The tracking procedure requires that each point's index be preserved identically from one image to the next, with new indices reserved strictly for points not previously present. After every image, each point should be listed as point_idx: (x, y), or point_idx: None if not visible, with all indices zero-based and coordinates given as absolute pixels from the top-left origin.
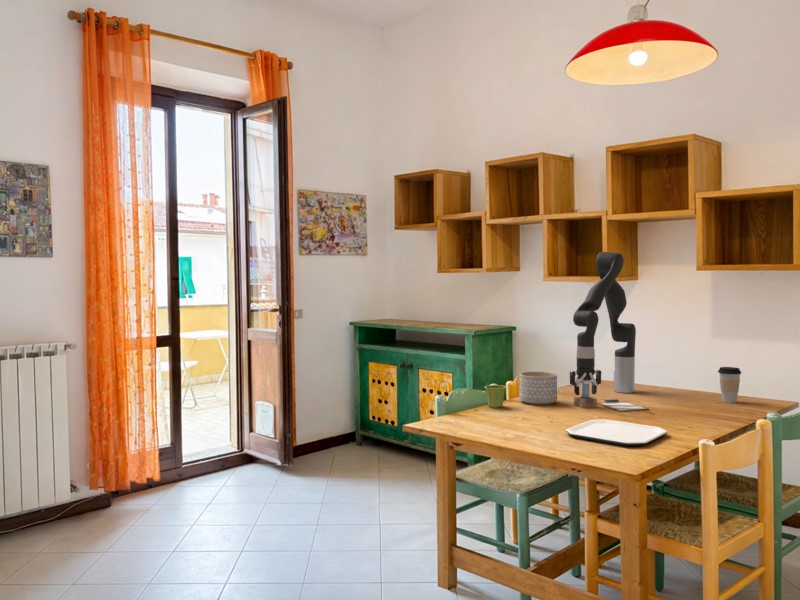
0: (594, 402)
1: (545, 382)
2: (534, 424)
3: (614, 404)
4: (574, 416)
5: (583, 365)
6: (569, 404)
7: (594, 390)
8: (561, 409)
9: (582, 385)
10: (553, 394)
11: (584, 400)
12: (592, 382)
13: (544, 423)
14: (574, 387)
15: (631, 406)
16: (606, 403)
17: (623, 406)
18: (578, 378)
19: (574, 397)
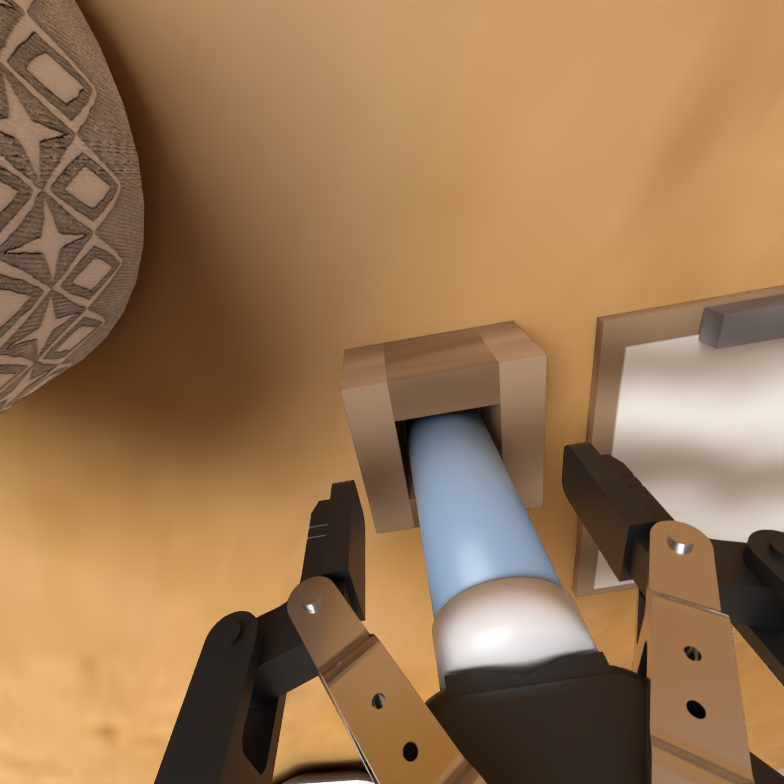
0: None
1: None
2: (24, 766)
3: (701, 427)
4: None
5: None
6: (301, 322)
7: (589, 527)
8: (187, 516)
9: (432, 604)
10: (29, 390)
11: (402, 523)
12: (668, 578)
13: (73, 755)
14: (303, 574)
15: (763, 502)
16: (666, 381)
17: (705, 500)
18: (388, 709)
19: (342, 396)
